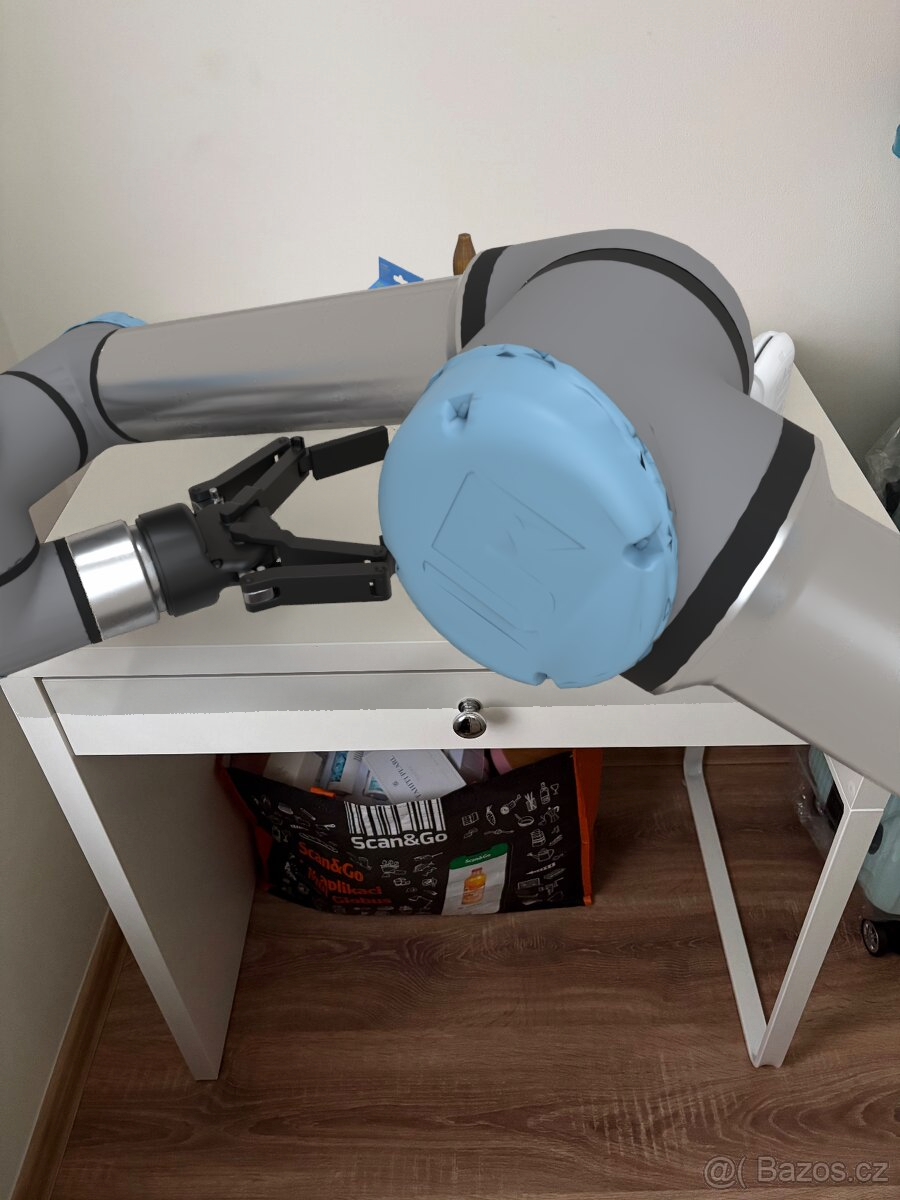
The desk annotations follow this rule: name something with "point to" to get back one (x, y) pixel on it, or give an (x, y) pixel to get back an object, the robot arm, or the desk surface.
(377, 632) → the desk surface
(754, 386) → the photo printer
